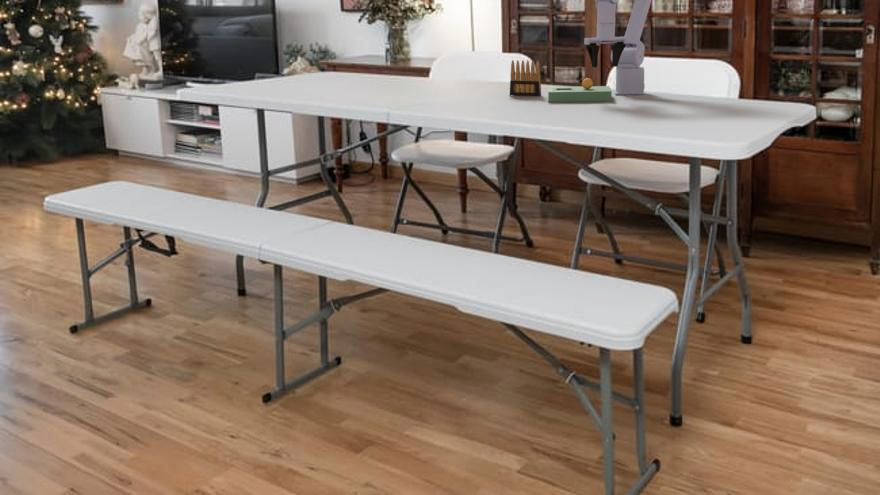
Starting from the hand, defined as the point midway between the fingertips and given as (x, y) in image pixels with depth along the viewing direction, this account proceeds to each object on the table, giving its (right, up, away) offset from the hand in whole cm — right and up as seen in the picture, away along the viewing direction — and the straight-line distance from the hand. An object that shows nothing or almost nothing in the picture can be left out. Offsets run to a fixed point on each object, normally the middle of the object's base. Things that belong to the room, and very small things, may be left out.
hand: (604, 66), depth 322 cm
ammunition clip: (-24, -7, +16) cm, 30 cm away
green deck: (-8, -10, +3) cm, 13 cm away
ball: (-5, -5, +2) cm, 8 cm away
